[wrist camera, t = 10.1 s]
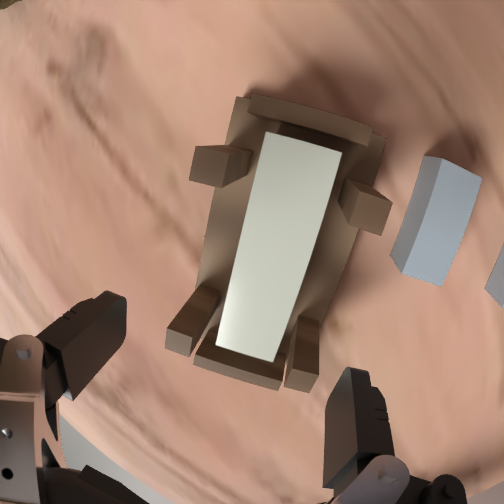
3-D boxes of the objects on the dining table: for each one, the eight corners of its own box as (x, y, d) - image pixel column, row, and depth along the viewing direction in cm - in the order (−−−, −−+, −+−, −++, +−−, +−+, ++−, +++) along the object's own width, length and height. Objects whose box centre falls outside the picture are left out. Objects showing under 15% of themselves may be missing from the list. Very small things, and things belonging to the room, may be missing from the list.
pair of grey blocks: (506, 297, 18) (524, 315, 15) (390, 255, 19) (401, 273, 16) (539, 217, 15) (560, 228, 13) (424, 155, 16) (442, 158, 14)
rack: (302, 358, 23) (295, 423, 17) (193, 325, 24) (158, 380, 18) (381, 138, 17) (418, 136, 10) (240, 99, 17) (206, 78, 11)
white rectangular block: (334, 151, 16) (341, 152, 13) (280, 325, 21) (272, 362, 17) (275, 134, 17) (265, 131, 13) (231, 311, 21) (215, 344, 17)
